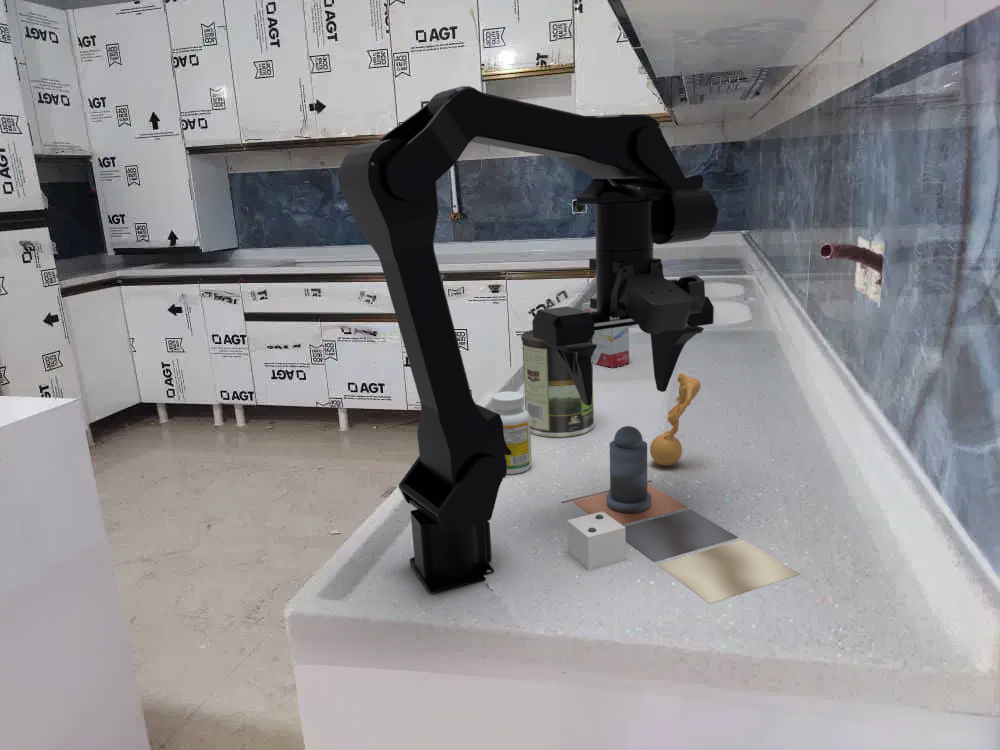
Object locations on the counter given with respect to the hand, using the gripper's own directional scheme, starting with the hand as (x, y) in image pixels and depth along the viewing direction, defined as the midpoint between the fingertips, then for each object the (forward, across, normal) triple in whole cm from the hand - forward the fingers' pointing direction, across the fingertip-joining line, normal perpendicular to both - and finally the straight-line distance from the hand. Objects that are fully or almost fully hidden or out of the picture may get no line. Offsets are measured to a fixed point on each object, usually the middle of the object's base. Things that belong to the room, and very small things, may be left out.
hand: (625, 397), depth 79 cm
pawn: (+12, 0, 0) cm, 12 cm away
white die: (+13, -9, -8) cm, 18 cm away
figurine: (+13, +12, +8) cm, 20 cm away
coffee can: (+13, +7, +29) cm, 33 cm away
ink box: (+13, +33, +58) cm, 68 cm away
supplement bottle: (+13, -6, +18) cm, 23 cm away
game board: (+13, 0, -8) cm, 15 cm away
